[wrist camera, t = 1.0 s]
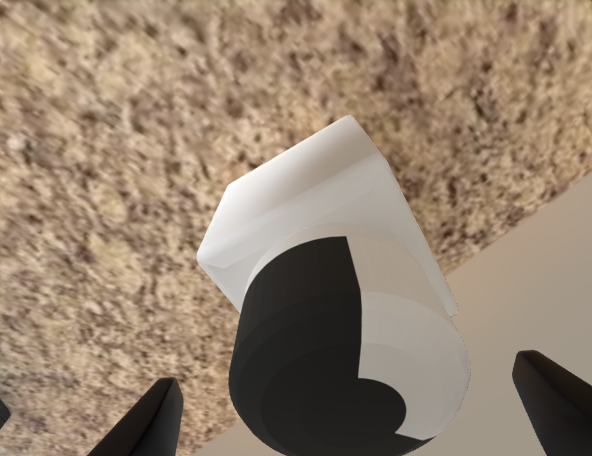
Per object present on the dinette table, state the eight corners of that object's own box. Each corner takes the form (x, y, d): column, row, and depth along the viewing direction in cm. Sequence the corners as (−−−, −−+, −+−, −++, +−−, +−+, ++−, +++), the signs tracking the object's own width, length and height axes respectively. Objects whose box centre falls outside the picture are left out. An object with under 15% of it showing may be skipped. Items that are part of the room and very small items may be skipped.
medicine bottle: (296, 283, 22) (298, 524, 11) (224, 184, 19) (132, 378, 8) (410, 228, 20) (545, 447, 9) (350, 110, 17) (444, 229, 6)
